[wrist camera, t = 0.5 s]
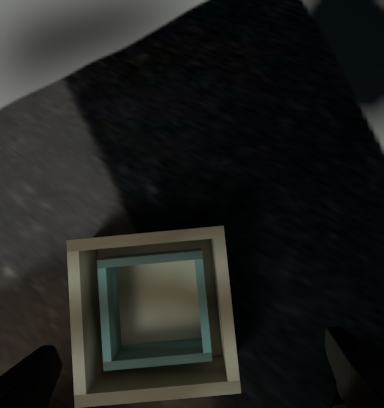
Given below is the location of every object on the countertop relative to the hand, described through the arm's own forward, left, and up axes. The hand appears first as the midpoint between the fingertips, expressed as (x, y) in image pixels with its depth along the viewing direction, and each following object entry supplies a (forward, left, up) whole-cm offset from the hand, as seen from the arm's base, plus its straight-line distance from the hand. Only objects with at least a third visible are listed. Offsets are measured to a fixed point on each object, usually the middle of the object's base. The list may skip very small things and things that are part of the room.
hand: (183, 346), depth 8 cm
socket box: (-2, +3, -14) cm, 14 cm away
